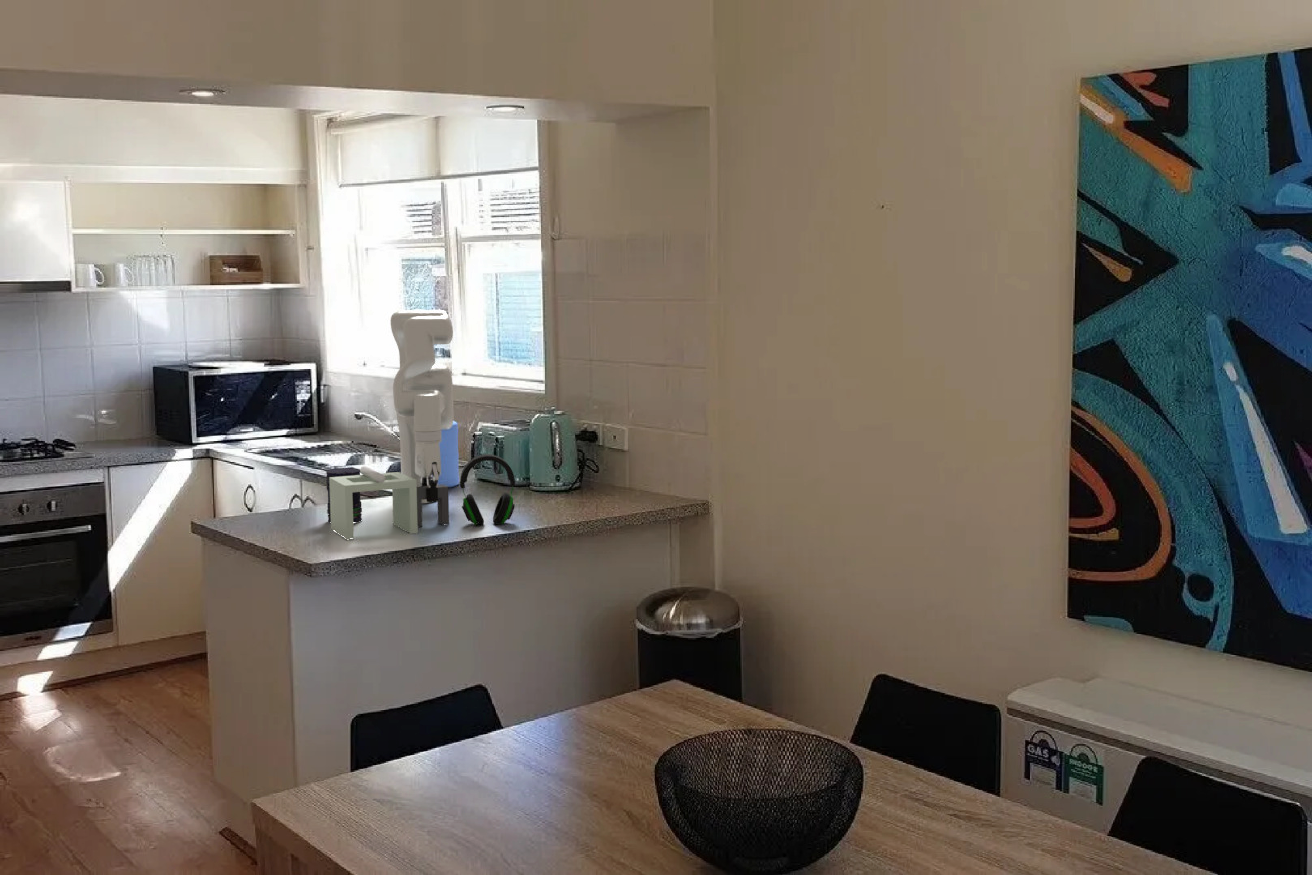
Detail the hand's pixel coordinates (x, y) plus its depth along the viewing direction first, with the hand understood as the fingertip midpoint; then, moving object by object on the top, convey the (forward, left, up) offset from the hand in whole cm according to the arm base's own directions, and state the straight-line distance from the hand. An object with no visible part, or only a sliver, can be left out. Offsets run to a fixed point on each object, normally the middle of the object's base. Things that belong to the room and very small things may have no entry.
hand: (429, 499), depth 400 cm
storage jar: (-17, -20, -8) cm, 27 cm away
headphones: (+7, +15, -8) cm, 18 cm away
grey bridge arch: (0, 0, -7) cm, 7 cm away
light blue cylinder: (-65, +24, -8) cm, 70 cm away
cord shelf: (+2, -17, -7) cm, 19 cm away
